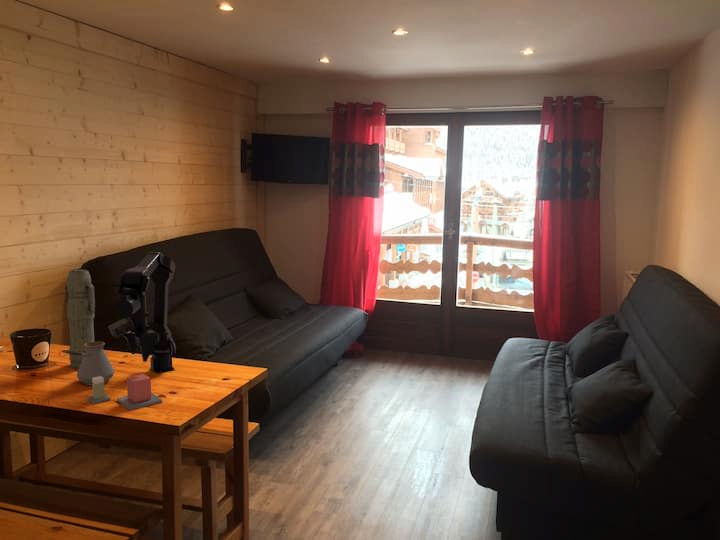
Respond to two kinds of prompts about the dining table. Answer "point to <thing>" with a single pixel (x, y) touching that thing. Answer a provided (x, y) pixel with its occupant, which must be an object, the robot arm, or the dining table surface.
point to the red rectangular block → (139, 388)
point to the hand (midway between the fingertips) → (139, 357)
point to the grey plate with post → (131, 405)
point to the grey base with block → (98, 391)
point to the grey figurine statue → (80, 312)
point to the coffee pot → (93, 363)
